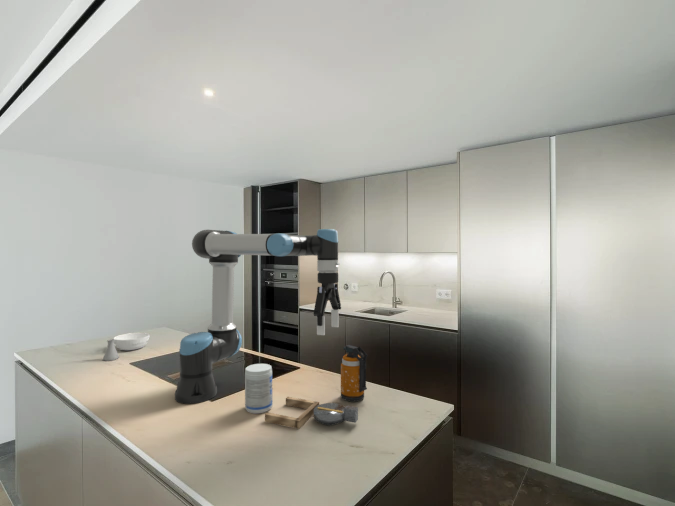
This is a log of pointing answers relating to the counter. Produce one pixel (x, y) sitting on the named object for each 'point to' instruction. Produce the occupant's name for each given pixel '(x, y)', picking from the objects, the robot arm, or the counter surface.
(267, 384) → the supplement tub
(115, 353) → the flask
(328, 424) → the turntable base
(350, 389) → the canister
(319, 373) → the counter surface
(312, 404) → the brown piece
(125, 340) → the bowl
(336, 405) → the turntable
